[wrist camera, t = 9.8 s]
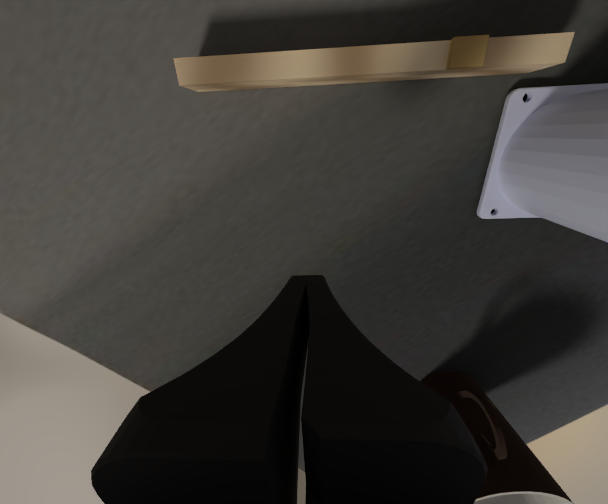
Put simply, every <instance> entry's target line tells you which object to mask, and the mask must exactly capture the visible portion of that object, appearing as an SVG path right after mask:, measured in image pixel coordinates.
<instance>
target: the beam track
mask: <svg viewBox="0 0 608 504" xmlns="http://www.w3.org/2000/svg"><path fill="white" fill-rule="evenodd" d="M574 33H575V32H566V33H551V34H536V35H521V36H506V37H491V38H489V35H475V36H460V37H454V38H452V39H451V40H445V41H430V42H415V43H400V44H384V45H369V46H354V47H339V48H324V49H309V50H293V51H278V52H263V53H248V54H233V55H218V56H202V57H187V58H174V63H175V67H176V72H177V77H178V81H179V85H180V86H183V87H186V88H189V89H191V90H194V91H197V92H207V91H225V90H242V89H259V88H277V87H294V86H312V85H329V84H346V83H364V82H381V81H399V80H416V79H433V78H451V77H468V76H485V75H503V74H520V73H529V72H533V71H536V70H540V69H543V68H547V67H551V66H554V65H558V64H561V63H565V61H566V58H567V55H568V51H569V48H570V45H571V42H572V39H573V36H574Z"/></svg>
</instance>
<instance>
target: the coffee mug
mask: <svg viewBox="0 0 608 504" xmlns="http://www.w3.org/2000/svg"><path fill="white" fill-rule="evenodd" d="M420 382H421V383H423V384H424V385H426V386H427V387H429V388H430V389H432V390H433V391H435V392H436V393H438V394H439V395H441V396H442V397H444V398H446V399H447V400H449V401H450V402H451V403H452V405H453V406H454V408H455V409H456V411H457V412H458V414H459V415H460V417H461V418H462V420H463V421H464V423H465V425H466V426H467V428H468V429H469V431H470V433H471V434H472V436H473V438H474V440H475V441H476V443H477V445H478V447H479V449H480V451H481V453H482V455H483V457H484V459H485V462H486V465H487V469H488V471H487V475H486V479H485V482H484V485H483V487H482V489H481V491H480V493H479V495H478V496H477V498H476V500H475V502H474V504H573V503H572V501H571V500H570V499H569V497H568V496H567V495H566V493H565V492H564V491H563V490H562V489H561V487H560V486H559V485H558V484H557V482H556V481H555V480H554V479H553V478H552V476H551V475H550V474H549V472H548V471H547V470H546V469H545V467H544V466H543V465H542V464H541V462H540V461H539V460H538V459H537V457H536V456H535V455H534V454H533V452H532V451H531V450H530V449H529V448H528V446H527V445H526V444H525V443H524V441H523V440H522V439H521V438H520V436H519V435H518V434H517V433H516V431H515V430H514V429H513V428H512V426H511V425H510V424H509V423H508V421H507V420H506V419H505V418H504V416H503V415H502V414H501V413H500V411H499V410H498V409H497V408H496V406H495V405H494V404H493V403H492V401H491V400H490V399H489V398H488V396H487V395H486V394H485V393H484V392H483V390H482V389H481V388H480V387H479V385H478V384H477V383H476V382H475V380H474V379H473V378H472V377H471V376H469V375H468V374H466V373H463V372H460V371H452V370H449V371H440V372H436V373H433V374H431V375H429V376H427V377H425V378H424V379H422V380H421V381H420Z"/></svg>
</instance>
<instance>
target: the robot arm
mask: <svg viewBox="0 0 608 504" xmlns="http://www.w3.org/2000/svg"><path fill="white" fill-rule="evenodd" d="M525 94H527V99H526V101H525V102H523V96H524V95H525ZM493 209H495V211H494V212H493V213H492V214H490V212H491V210H493ZM477 215H478V216H479V217H481V218H483V219H495V218H535V217H542V218H544V219H547V220H550V221H552V222H555V223H558V224H560V225H563V226H566V227H568V228H571V229H574V230H576V231H579V232H582V233H584V234H587V235H590V236H592V237H595V238H598V239H600V240H603V241H606V242H608V83H604V84H586V85H568V86H549V87H531V88H519V89H515V90H513V91H511V92H510V93H509V94H508V95H507V98H506V101H505V104H504V108H503V112H502V116H501V120H500V124H499V128H498V132H497V135H496V139H495V143H494V147H493V151H492V155H491V159H490V163H489V166H488V170H487V174H486V178H485V182H484V186H483V190H482V193H481V197H480V201H479V205H478V209H477ZM308 338H309V341H308ZM307 346H308V355H307V367H306V378H305V388H304V398H303V407H302V416H301V421H302V434H303V447H304V461H305V474H306V504H474V502H475V500H476V498H477V496H478V495H479V493H480V491H481V489H482V487H483V485H484V482H485V479H486V475H487V471H488V469H487V465H486V462H485V459H484V457H483V455H482V453H481V451H480V449H479V447H478V445H477V443H476V441H475V440H474V438H473V436H472V434H471V433H470V431H469V429H468V428H467V426H466V425H465V423H464V421H463V420H462V418H461V417H460V415H459V414H458V412H457V411H456V409H455V408H454V406H453V405H452V403H451V402H450V401H449V400H447V399H446V398H444V397H442V396H441V395H439V394H438V393H436V392H435V391H433V390H432V389H430V388H429V387H427V386H426V385H424V384H423V383H421V382H420V381H418V380H417V379H415V378H414V377H412V376H411V375H409V374H408V373H407V372H405V371H404V370H403V369H401V368H400V367H399V366H398V365H396V364H395V363H394V362H392V361H391V360H390V359H389V358H388V357H387V356H386V355H384V354H383V353H382V352H381V351H380V350H379V349H377V348H376V347H375V346H374V345H373V344H372V343H371V342H370V341H369V340H368V339H367V338H366V337H365V336H364V335H363V334H362V333H361V332H360V331H359V330H358V328H357V327H356V326H355V325H354V324H353V323H352V321H351V320H350V319H349V318H348V316H347V315H346V314H345V312H344V311H343V310H342V308H341V307H340V305H339V304H338V302H337V301H336V299H335V298H334V296H333V294H332V293H331V291H330V289H329V287H328V285H327V283H326V280H325V277H324V276H323V275H302V276H292V277H291V278H290V279H289V281H288V282H287V284H286V285H285V287H284V288H283V289H282V291H281V292H280V293H279V295H278V296H277V297H276V298H275V300H274V301H273V302H272V303H271V305H270V306H269V307H268V308H267V309H266V310H265V311H264V312H263V313H262V315H261V316H260V317H259V318H258V319H257V320H256V321H255V322H254V323H253V324H252V325H251V326H250V327H249V328H247V329H246V330H245V331H244V332H243V333H242V334H241V335H240V336H238V337H237V338H236V339H235V340H233V341H232V342H231V343H229V344H228V345H227V346H225V347H224V348H223V349H221V350H220V351H219V352H217V353H216V354H214V355H213V356H211V357H210V358H208V359H207V360H205V361H204V362H202V363H201V364H199V365H198V366H196V367H194V368H193V369H191V370H190V371H188V372H186V373H185V374H183V375H181V376H179V377H178V378H176V379H174V380H172V381H170V382H168V383H167V384H165V385H163V386H161V387H159V388H157V389H155V390H154V391H152V392H150V393H148V394H146V395H144V396H142V397H140V399H139V400H138V402H137V403H136V404H135V406H134V407H133V408H132V410H131V411H130V412H129V414H128V415H127V417H126V418H125V420H124V421H123V423H122V424H121V426H120V427H119V429H118V430H117V432H116V433H115V435H114V436H113V438H112V439H111V441H110V443H109V444H108V446H107V447H106V449H105V450H104V452H103V453H102V455H101V456H100V458H99V459H98V461H97V462H96V464H95V466H94V467H93V469H92V470H91V474H92V475H91V480H92V486H93V487H94V489H95V491H96V493H97V495H98V496H99V497H100V498H101V500H102V501H103V502H104V503H105V504H297V482H298V454H299V428H300V404H301V392H302V383H303V376H304V368H305V361H306V353H307Z"/></svg>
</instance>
